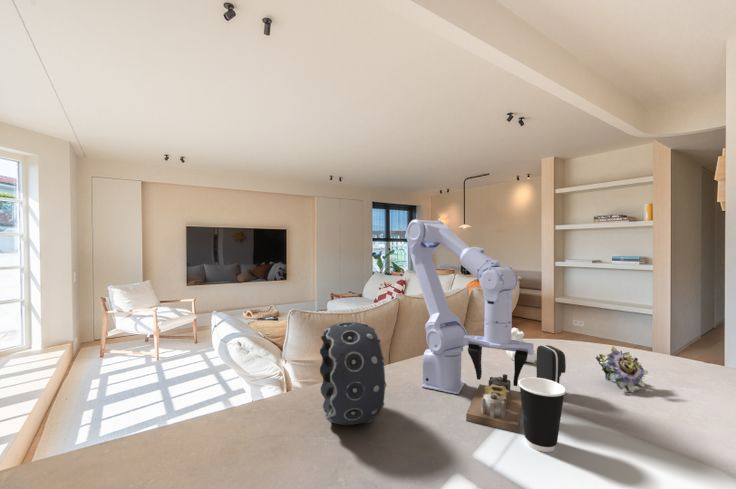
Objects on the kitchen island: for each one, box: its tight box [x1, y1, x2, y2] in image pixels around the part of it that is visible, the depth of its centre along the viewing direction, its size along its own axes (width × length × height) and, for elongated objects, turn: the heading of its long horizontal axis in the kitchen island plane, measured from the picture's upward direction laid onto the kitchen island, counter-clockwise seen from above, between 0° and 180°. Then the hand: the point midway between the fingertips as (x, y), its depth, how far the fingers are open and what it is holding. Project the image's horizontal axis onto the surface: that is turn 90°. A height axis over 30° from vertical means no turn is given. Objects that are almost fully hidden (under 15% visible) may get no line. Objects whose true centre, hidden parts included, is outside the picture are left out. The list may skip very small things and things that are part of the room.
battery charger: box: [535, 344, 567, 384], centre depth 88 cm, size 7×4×11 cm, turn 8°
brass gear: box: [485, 384, 509, 405], centre depth 79 cm, size 5×5×3 cm
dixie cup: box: [517, 376, 567, 453], centre depth 66 cm, size 8×8×11 cm
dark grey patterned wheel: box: [319, 321, 387, 426], centre depth 74 cm, size 11×20×20 cm, turn 15°
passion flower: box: [595, 345, 649, 394], centre depth 93 cm, size 11×11×12 cm
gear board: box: [465, 373, 522, 434], centre depth 79 cm, size 10×17×6 cm, turn 154°
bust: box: [505, 327, 537, 364], centre depth 112 cm, size 12×8×11 cm
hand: (496, 381), depth 79 cm, fingers open, 7 cm apart
